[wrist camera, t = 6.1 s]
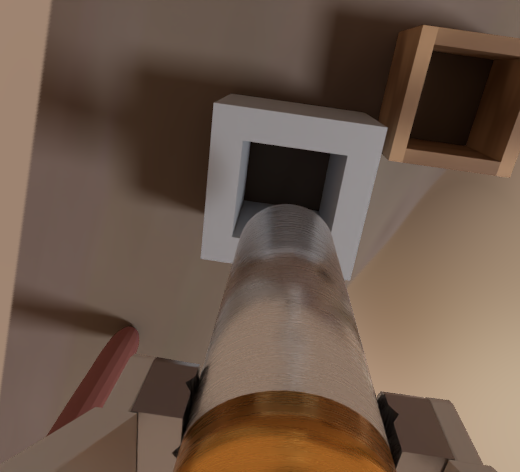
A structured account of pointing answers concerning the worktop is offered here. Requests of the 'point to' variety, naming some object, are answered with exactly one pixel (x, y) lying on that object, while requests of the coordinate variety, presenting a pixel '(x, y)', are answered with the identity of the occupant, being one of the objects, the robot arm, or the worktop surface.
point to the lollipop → (100, 377)
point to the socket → (295, 136)
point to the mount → (488, 114)
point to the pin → (285, 362)
